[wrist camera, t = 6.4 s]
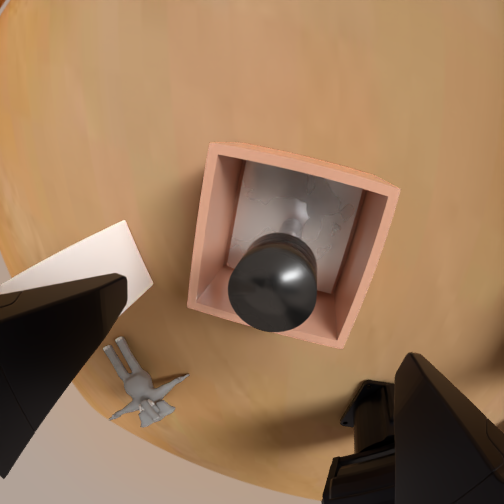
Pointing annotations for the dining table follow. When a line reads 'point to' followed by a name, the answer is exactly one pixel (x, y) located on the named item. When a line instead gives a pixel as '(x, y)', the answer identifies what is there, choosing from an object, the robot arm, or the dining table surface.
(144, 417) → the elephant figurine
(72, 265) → the milk
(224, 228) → the clay pot
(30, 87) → the dining table surface
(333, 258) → the joystick lever
